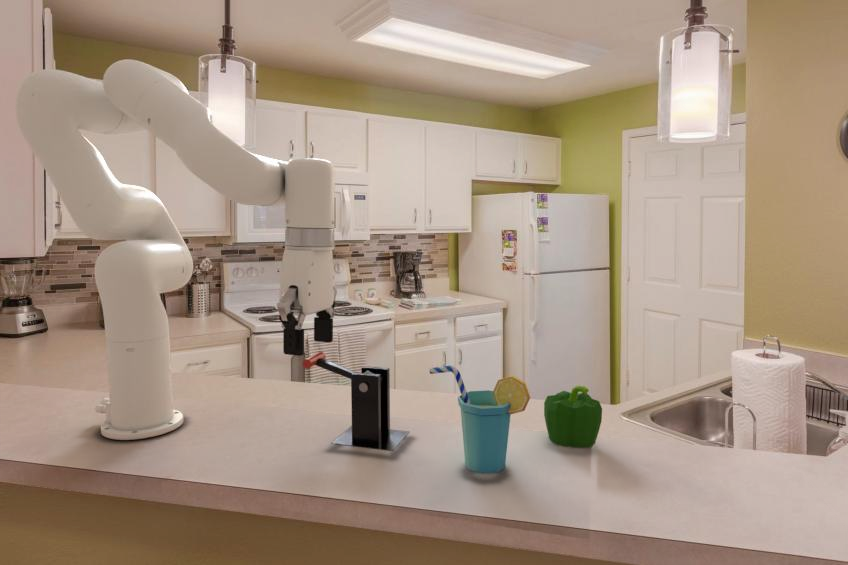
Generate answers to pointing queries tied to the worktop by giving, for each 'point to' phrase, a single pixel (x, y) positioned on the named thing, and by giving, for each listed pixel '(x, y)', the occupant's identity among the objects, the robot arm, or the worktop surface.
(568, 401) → the bell pepper
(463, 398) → the cup
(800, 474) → the worktop surface
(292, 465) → the worktop surface
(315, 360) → the lever
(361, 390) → the bracket
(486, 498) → the worktop surface
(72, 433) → the worktop surface
